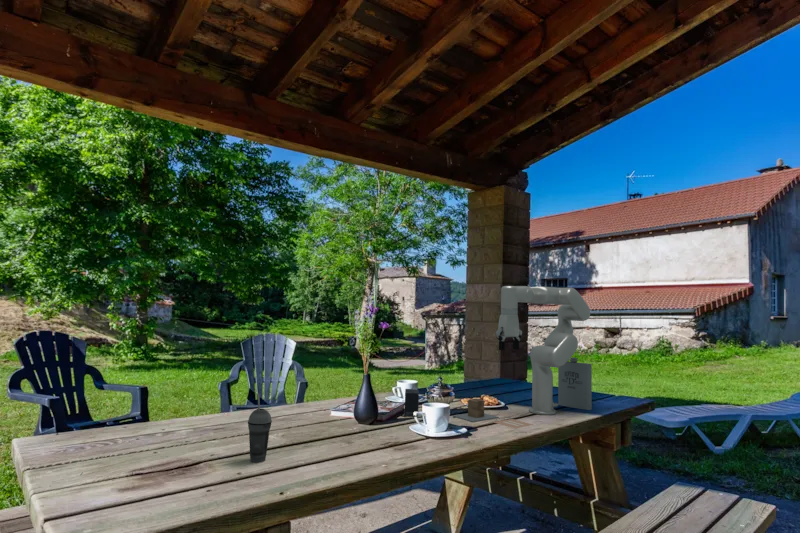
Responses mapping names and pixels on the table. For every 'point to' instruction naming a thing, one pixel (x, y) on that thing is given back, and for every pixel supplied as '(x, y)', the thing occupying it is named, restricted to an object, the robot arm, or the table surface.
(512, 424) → the tile
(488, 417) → the slate board
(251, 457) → the beverage cup
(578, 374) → the flask
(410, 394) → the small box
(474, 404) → the walnut block
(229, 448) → the table surface
